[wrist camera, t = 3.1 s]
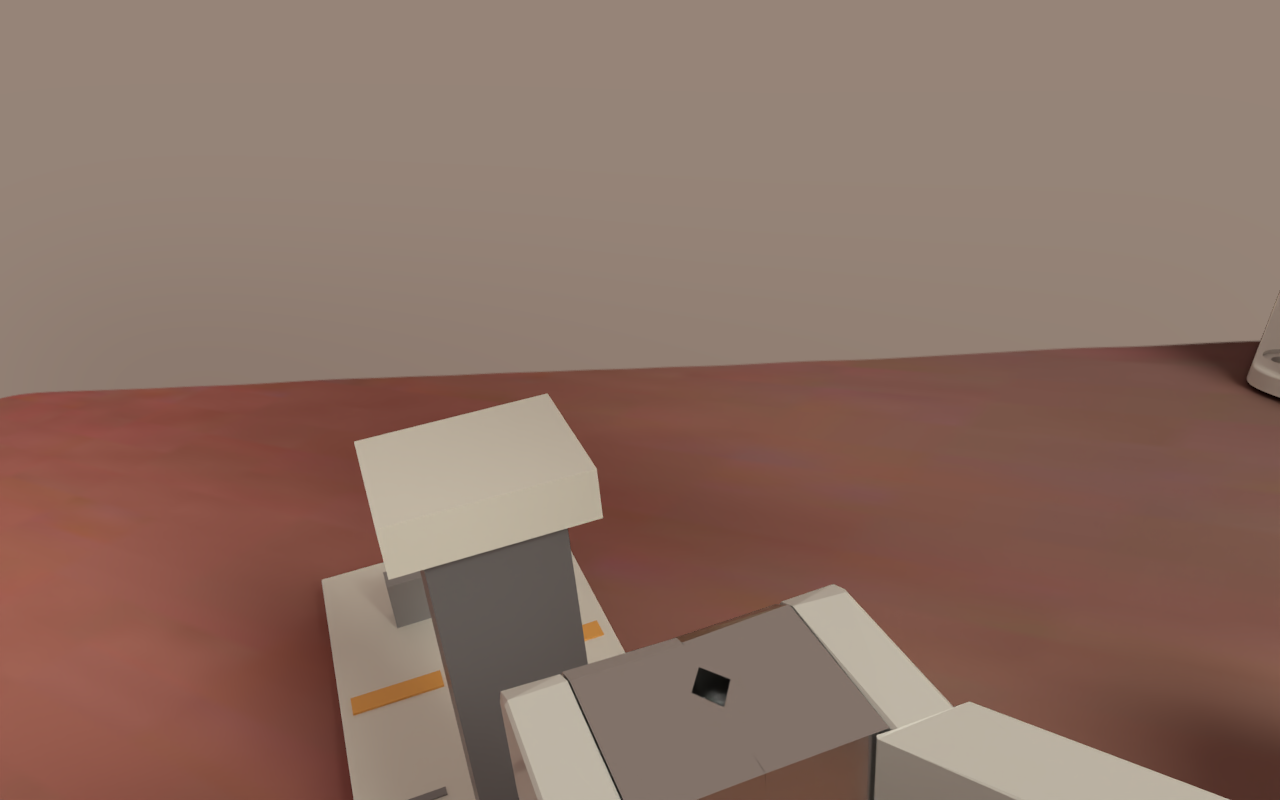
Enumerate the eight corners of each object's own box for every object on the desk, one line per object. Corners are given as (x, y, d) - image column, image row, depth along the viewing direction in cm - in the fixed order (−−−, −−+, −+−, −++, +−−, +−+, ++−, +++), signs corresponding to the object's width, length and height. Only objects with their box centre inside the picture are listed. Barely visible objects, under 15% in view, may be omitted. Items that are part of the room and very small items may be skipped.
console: (868, 1148, 23) (872, 1064, 22) (445, 1363, 21) (411, 1286, 19) (555, 541, 45) (545, 476, 43) (330, 607, 42) (309, 540, 41)
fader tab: (653, 915, 27) (596, 468, 20) (494, 980, 26) (375, 530, 19) (610, 811, 30) (547, 393, 23) (465, 865, 29) (353, 441, 22)
